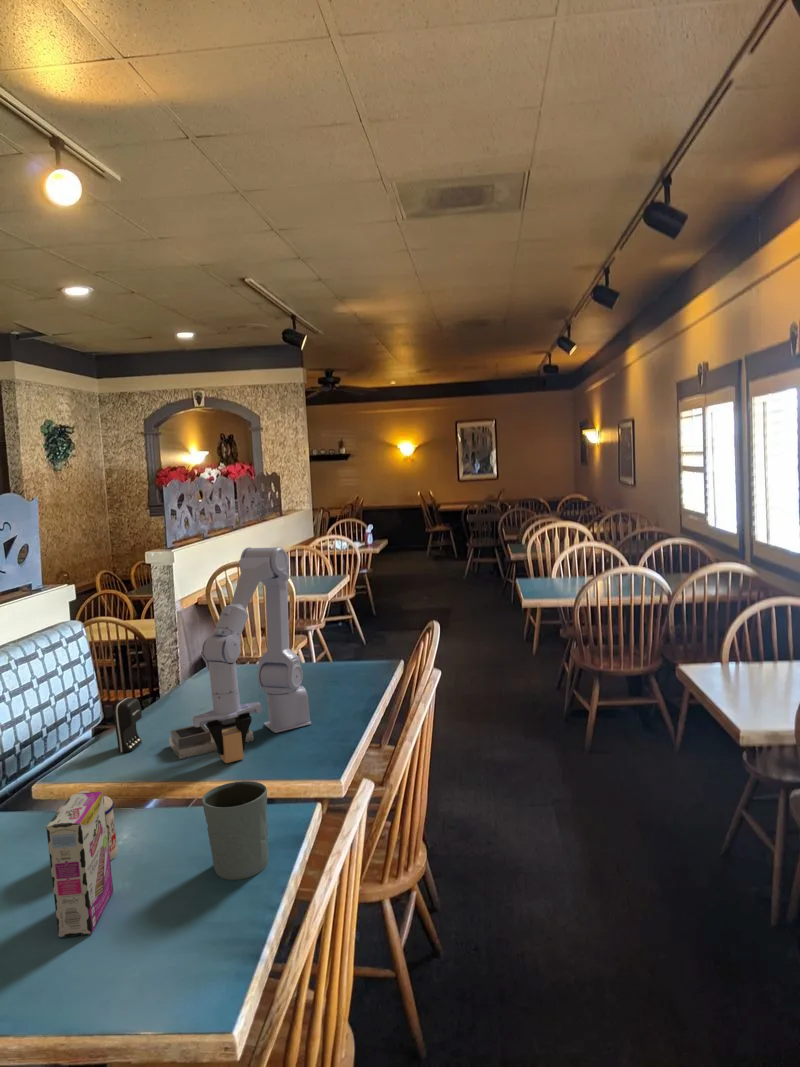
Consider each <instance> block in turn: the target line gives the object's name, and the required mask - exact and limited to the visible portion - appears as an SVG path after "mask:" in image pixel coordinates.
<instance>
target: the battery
mask: <svg viewBox="0 0 800 1067" xmlns="http://www.w3.org/2000/svg"><path fill="white" fill-rule="evenodd" d="M113 718H114V726H115V727H114V728H115V732H116V733H115V734H116V739H117V749H118V752H119V753H121V754H122V752H123V753H129V751H130V752H133V751H134V750H135V749H136V748H138V747H139V746H140V745H141V743H143V742H142V739H141V737H140V736H139V734H138V729H137V722H138V721H139V720H140V719H142V718H143V716H142V708H141V703H140V701H139V699H138V698H136V697H130V698H129V697H126V698H123V699H121V700H120V701H118V702H117V703H116V704H114V706H113ZM139 744H140V745H139ZM138 745H139V746H138ZM137 746H138V747H137Z"/></svg>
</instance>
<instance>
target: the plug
mask: <svg viewBox="0 0 800 1067" xmlns="http://www.w3.org/2000/svg"><path fill="white" fill-rule="evenodd" d="M222 743H223V749H224V755H220V754H219V756H220V759H221V760H222V761H223V762H224V763H225V764H229V763H233V762H237V761H240V760H244V759H245V757H244V756H245V755H244V750H243V746H242V736H241V731H239V730H238V729H237V728H236V727H234V728H229V729H225V730H222Z"/></svg>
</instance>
